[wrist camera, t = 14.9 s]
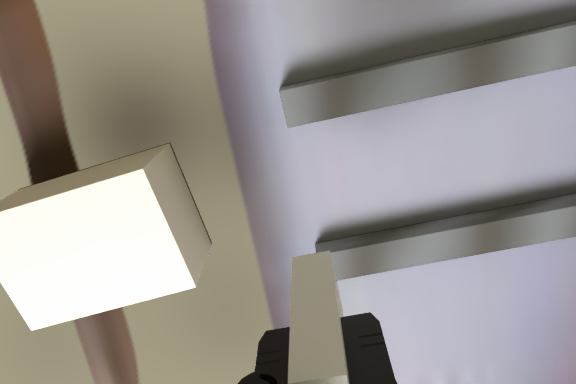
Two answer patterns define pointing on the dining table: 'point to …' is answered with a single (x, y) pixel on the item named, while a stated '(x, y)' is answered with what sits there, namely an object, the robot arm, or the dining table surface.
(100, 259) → the cream block
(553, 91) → the dining table surface
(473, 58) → the twin grey rails
